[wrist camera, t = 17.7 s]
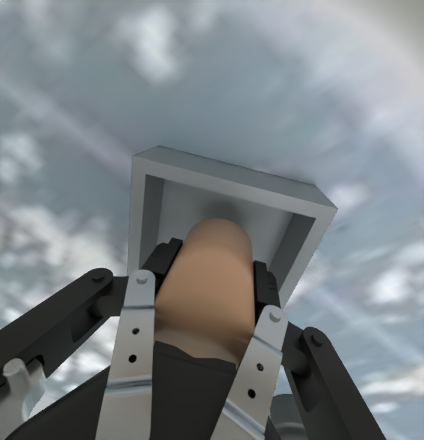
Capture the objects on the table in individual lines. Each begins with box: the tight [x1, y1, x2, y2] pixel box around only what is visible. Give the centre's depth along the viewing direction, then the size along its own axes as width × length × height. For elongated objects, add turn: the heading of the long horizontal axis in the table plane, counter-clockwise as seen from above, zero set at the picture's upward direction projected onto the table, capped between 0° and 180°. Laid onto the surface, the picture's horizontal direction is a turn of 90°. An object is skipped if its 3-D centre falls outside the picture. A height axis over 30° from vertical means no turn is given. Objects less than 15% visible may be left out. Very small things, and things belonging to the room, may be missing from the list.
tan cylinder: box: [153, 218, 255, 367], centre depth 13 cm, size 5×5×7 cm
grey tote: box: [127, 146, 338, 310], centre depth 20 cm, size 14×18×5 cm
